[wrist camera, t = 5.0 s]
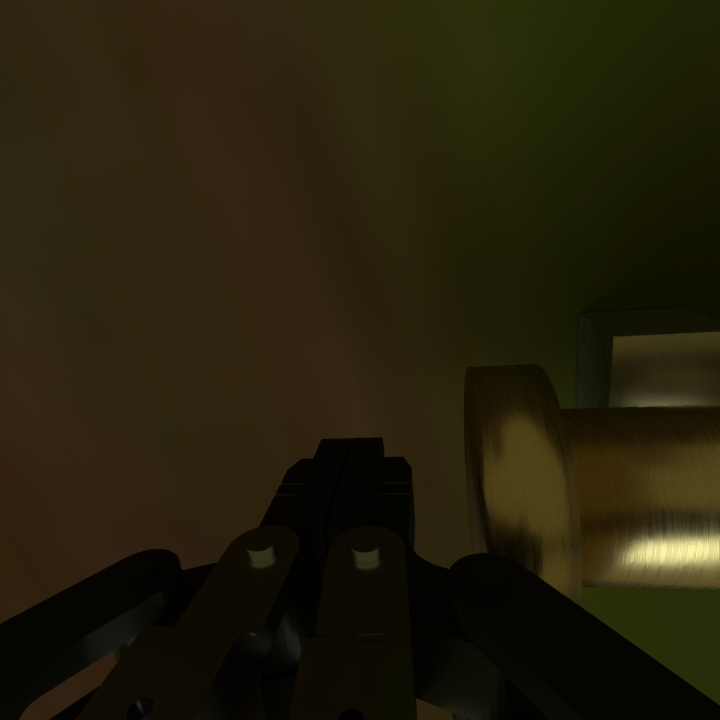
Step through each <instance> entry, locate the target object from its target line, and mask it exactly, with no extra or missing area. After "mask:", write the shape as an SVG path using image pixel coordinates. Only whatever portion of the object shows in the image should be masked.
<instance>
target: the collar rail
mask: <svg viewBox="0 0 720 720" xmlns="http://www.w3.org/2000/svg"><path fill="white" fill-rule="evenodd" d="M713 404H720V321H718V320H716V319H713V318H711V317H708V316H706V315H703V314H701V313H698V312H696V311H693V310H691V309H688V308H686V307H679V308H661V309H643V310H626V311H608V312H591V313H580V319H579V339H578V360H577V380H576V401H575V409H582V408H615V407H647V406H680V405H713Z"/></svg>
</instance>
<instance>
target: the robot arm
mask: <svg viewBox="0 0 720 720" xmlns="http://www.w3.org/2000/svg"><path fill="white" fill-rule="evenodd" d="M414 537H415V515H414V500H413V484H412V468H411V467H410V465H409V464H408V463H407V461H406V460H405V459H404V457H385V456H384V445H383V439H382V437H379V438H353V439H351V438H343V439H322V440H321V442H320V444H319V447H318V449H317V451H316V454H315V456H314V458H313V459H301V460H299V461H298V462H297V463H296V464H294V465H293V466H292V467H291V468H289V469H288V470H287V472H286V474H285V476H284V478H283V480H282V482H281V485H280V486H279V488H278V490H277V492H276V496H274V498H273V500H272V502H271V504H270V506H269V508H268V510H267V512H266V514H265V516H264V518H263V520H262V522H261V524H260V526H259V527H258V528H255V529H252V530H249V531H247V532H245V533H243V534H241V535H240V536H238V537H237V538H236V539H235V540H234V541H232V542H231V544H230V545H229V546H228V547H227V549H226V550H225V552H224V553H223V555H222V556H221V558H220V559H219V561H218V562H217V563H213V564H209V565H204V566H200V567H195V568H191V569H186V570H182V569H181V565H180V561H179V558H178V556H177V555H176V554H175V553H173V552H171V551H169V550H164V549H152V550H146V551H142V552H139V553H136V554H133V555H131V556H129V557H126V558H124V559H122V560H120V561H119V562H117V563H115V564H113V565H111V566H109V567H107V568H105V569H103V570H102V571H100V572H98V573H96V574H94V575H92V576H90V577H88V578H86V579H84V580H83V581H81V582H79V583H77V584H75V585H73V586H71V587H69V588H67V589H65V590H64V591H62V592H60V593H58V594H56V595H54V596H52V597H50V598H48V599H46V600H45V601H43V602H41V603H39V604H37V605H35V606H33V607H31V608H29V609H27V610H26V611H24V612H22V613H20V614H18V615H16V616H14V617H12V618H10V619H8V620H7V621H5V622H3V623H1V624H0V720H19V718H20V716H21V715H22V713H23V712H24V711H25V709H26V708H27V707H28V706H29V705H30V704H31V703H32V702H33V701H35V700H36V699H37V698H39V697H40V696H42V695H43V694H45V693H47V692H48V691H50V690H51V689H53V688H54V687H56V686H58V685H59V684H61V683H62V682H64V681H65V680H67V679H69V678H70V677H72V676H73V675H75V674H76V673H78V672H79V671H81V670H83V669H84V668H86V667H87V666H89V665H90V664H92V663H94V662H95V661H97V660H98V659H100V658H101V657H103V656H105V655H106V654H108V653H109V652H111V651H112V650H113V651H114V654H115V657H116V660H117V664H116V665H115V666H114V668H113V669H112V670H111V672H110V673H109V674H108V676H107V677H106V678H105V680H104V681H103V682H102V684H101V685H100V686H99V687H97V688H96V689H94V690H93V691H91V692H90V693H88V694H87V695H85V696H84V697H82V698H81V699H79V700H78V701H76V702H75V703H73V704H72V705H70V706H69V707H67V708H66V709H64V710H63V711H61V712H60V713H58V714H57V715H55V716H54V717H53V718H51V719H50V720H417V708H416V698H418V699H420V700H423V701H425V702H428V703H430V704H433V705H435V706H438V707H440V708H442V709H445V710H447V711H450V712H452V715H453V718H454V720H720V705H718V704H717V703H715V702H714V701H713V700H711V699H710V698H708V697H707V696H706V695H704V694H703V693H701V692H700V691H699V690H697V689H696V688H694V687H693V686H691V685H690V684H689V683H687V682H686V681H684V680H683V679H682V678H680V677H679V676H677V675H676V674H675V673H673V672H672V671H670V670H669V669H668V668H666V667H665V666H663V665H662V664H661V663H659V662H658V661H656V660H655V659H653V658H652V657H651V656H649V655H648V654H646V653H645V652H644V651H642V650H641V649H639V648H638V647H637V646H635V645H634V644H632V643H631V642H630V641H628V640H627V639H625V638H624V637H623V636H621V635H620V634H618V633H617V632H616V631H614V630H613V629H611V628H610V627H608V626H607V625H606V624H604V623H603V622H601V621H600V620H599V619H597V618H596V617H594V616H593V615H592V614H590V613H589V612H587V611H586V610H585V609H583V608H582V607H580V606H579V605H578V604H576V603H575V602H573V601H572V600H570V599H569V598H568V597H566V596H565V595H563V594H562V593H561V592H559V591H558V590H556V589H555V588H554V587H552V586H551V585H549V584H548V583H547V582H545V581H544V580H542V579H541V578H540V577H538V576H537V575H535V574H534V573H533V572H531V571H530V570H528V569H527V568H525V567H524V566H523V565H521V564H520V563H518V562H516V561H515V560H513V559H510V558H508V557H505V556H502V555H498V554H492V553H478V554H472V555H468V556H465V557H463V558H461V559H459V560H458V561H456V562H455V563H454V564H453V565H452V566H451V568H450V569H447V568H443V567H440V566H437V565H434V564H431V563H429V562H427V561H425V560H424V559H422V558H421V557H420V556H419V555H417V554H416V553H415V551H414V541H415V540H414Z"/></svg>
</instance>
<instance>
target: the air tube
mask: <svg viewBox="0 0 720 720" xmlns="http://www.w3.org/2000/svg"><path fill="white" fill-rule="evenodd" d="M464 446H465V470H466V488H467V504H468V518H469V530H470V542H471V552H472V554H478V553H492V554H498V555H502V556H505V557H508V558H510V559H513V560H515V561H516V562H518V563H520V564H521V565H523V566H524V567H525V568H527V569H528V570H530V571H531V572H533V573H534V574H535V575H537V576H538V577H540V578H541V579H542V580H544V581H545V582H547V583H548V584H549V585H551V586H552V587H554V588H555V589H556V590H558V591H559V592H561V593H562V594H563V595H565V596H566V597H568V598H569V599H570V600H572V601H573V602H575V603H576V604H578V605H579V606H580V607H581V598H582V587H613V588H667V589H720V404H713V405H680V406H647V407H615V408H582V409H561V408H560V404H559V401H558V398H557V396H556V393H555V390H554V388H553V385H552V383H551V381H550V379H549V377H548V375H547V374H546V372H545V371H544V370H543V369H542V367H541V366H539V365H537V364H526V365H503V366H480V367H468V368H467V370H466V376H465V387H464Z"/></svg>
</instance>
